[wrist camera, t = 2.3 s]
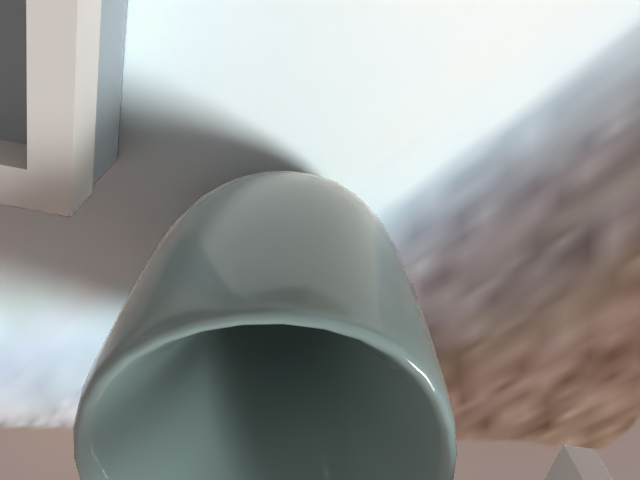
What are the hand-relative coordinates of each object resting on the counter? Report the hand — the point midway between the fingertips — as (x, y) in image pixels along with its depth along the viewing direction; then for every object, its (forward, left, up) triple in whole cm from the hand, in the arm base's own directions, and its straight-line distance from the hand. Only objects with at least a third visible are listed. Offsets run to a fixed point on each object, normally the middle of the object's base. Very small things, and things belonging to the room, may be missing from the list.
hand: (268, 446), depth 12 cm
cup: (0, 0, -9) cm, 9 cm away
